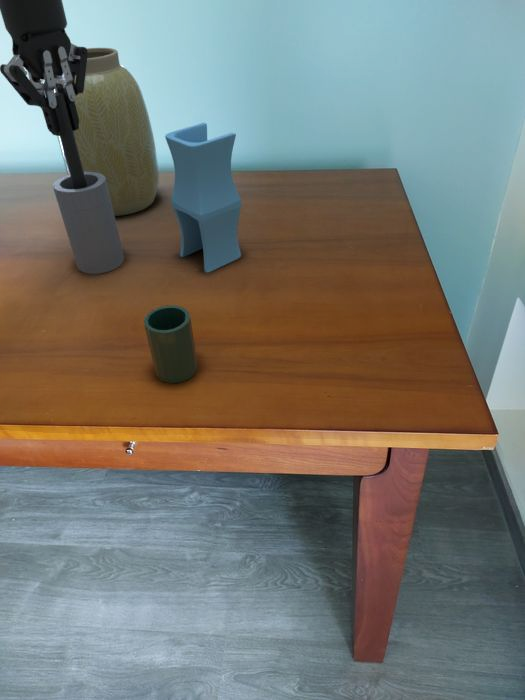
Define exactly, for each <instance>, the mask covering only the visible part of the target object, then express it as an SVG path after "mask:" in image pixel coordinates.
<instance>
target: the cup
mask: <svg viewBox="0 0 525 700" xmlns="http://www.w3.org/2000/svg"><path fill="white" fill-rule="evenodd" d="M84 175H85V179H86V183H87V187H86V188H81V189H74V186H73V183H72V179H71V175H69V174H67V175H64V176H62V177H59V178H57V179H56V180H55V181H54V182H53V184H52V188H53V193H54V195H55V199H56V202H57V205H58V209H59V211H60V214H61V218H62V222H63V225H64V228H65V231H66V235H67V238H68V242H69V244H70V247H71V248H70V249H71V250H72V255H73V257H74V261H75V264H76V267H77V269H78V270H79V271H80V272H82V273H83V274H88V275H99V274H100V275H101V274H105V273H110V272H111V271H114V270H116V269H117V268H119V267H120V266H121V265H122V264H123V263H124V261H125V256H124V251H123V246H122V241H121V238H120V237H121V236H120V233H119V229H118V225H117V221H116V216H114V212H113V207H112V203H111V199H110V195H109V190H108V186H107V182H106V178H105V176H104V175H102V174H100V173H96V172H84Z"/></svg>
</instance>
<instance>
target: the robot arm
mask: <svg viewBox="0 0 525 700" xmlns="http://www.w3.org/2000/svg"><path fill="white" fill-rule="evenodd" d="M0 15H1V17H2V22H3V24H4V28H5V30H6V32H7V33H8V34H9V36H10V38H11V42H12V50H11V51H12V55H13V56H12V57H11V59H10V60H9V61H8V63H6V64H5V63H2V64H1V65H0V73H1V74H2V76H3V77H4V78H5V80H6V81H8V83H9V84H10V85H11V87H13V89H14V90H15V91H16V93H17V94H18V95H19V97H20V98H21V99H22V100H23V101H24V102H25V103H26V104H27V105H28V106H34V107H39V108H40V109H41V111H42V114H43V118H44V121H45V124H46V127H47V130H48V132H49V133H51V134H52V135H53V136H56V137H57V136H58V137H59V136H63V135H65V133H66V132H65V128H64V125H63V121H62V117H61V114H60V110H59V107H56V106H57V102H56V97H55V92H56V93H58V92H60V93H63V94H64V98H65V102H66V106H67V110H68V113H69V117H70V121H71V125H72V129H73V131H75V130H77V129H79V125H78V124H79V118H78V114H77V110H76V106H75V99H76V96H77V95H78V94H79V93H83V91H84V83H85V74H86V65H87V56H88V51H87V49H86V48H87V47H86V46H78V45H76V44H74V43H72V42H71V39H70V37H69V36H68V34H67V32H66V29H67V27H68V21H67V16H66V12H65V7H64V4H63V0H0ZM27 75H28V76H27ZM75 75H76V81H75ZM74 81H75V83H74ZM63 87H64V88H63ZM54 89H55V92H54Z"/></svg>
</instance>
